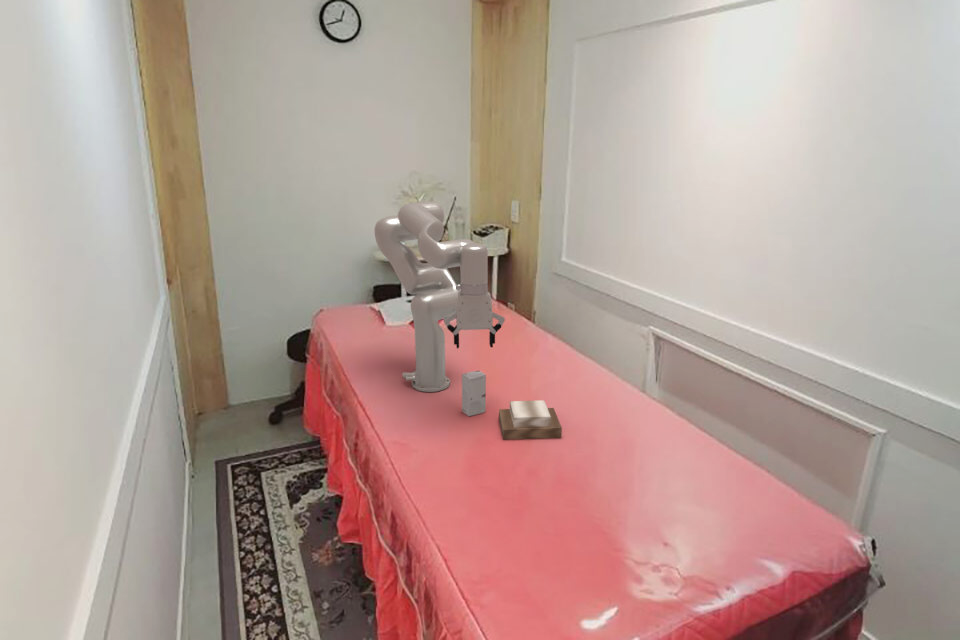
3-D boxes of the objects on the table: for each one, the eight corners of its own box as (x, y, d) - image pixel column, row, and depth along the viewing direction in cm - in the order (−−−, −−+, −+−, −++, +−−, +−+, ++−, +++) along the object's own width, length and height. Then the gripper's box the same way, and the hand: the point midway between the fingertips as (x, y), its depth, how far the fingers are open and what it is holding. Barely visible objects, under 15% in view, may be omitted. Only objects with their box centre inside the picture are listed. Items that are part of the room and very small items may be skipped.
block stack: (503, 439, 158) (503, 419, 157) (498, 418, 170) (499, 400, 168) (561, 437, 160) (562, 418, 158) (553, 417, 171) (554, 398, 169)
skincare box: (469, 417, 171) (469, 379, 167) (461, 411, 174) (460, 373, 170) (486, 411, 174) (486, 374, 170) (478, 406, 177) (478, 369, 174)
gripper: (443, 292, 158) (444, 351, 163) (506, 291, 159) (505, 350, 164) (442, 285, 165) (444, 342, 170) (503, 284, 166) (503, 341, 171)
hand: (474, 346), depth 167 cm, fingers open, 9 cm apart
